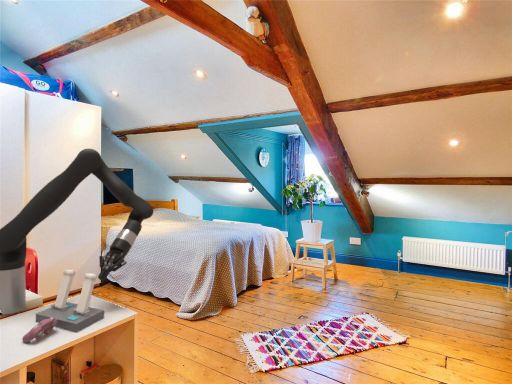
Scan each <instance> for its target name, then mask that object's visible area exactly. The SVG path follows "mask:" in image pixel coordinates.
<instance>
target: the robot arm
mask: <svg viewBox="0 0 512 384" xmlns="http://www.w3.org/2000/svg"><path fill="white" fill-rule="evenodd" d="M90 175H93V176H95V177H96V178H97V179H98V180H99V181H100V182H101V183H102V184H103V185H104V187H106V188H107V190H108V191H109V193H111V194H112V195H113V196H114V197H115V198H116V199H117V200H118V201H119V202H120V203H121V204H122V205H123V206H124V207H126V208H129V207H130V208H132V210H131V211H130V213H129V215H128V218H127V220H126V222H125V224H124V225H123V227H122V228H121V230H120V231H119V232H118V233H117V235H116V237H115V238H114V240H113V241H112V243H111V245H110V246H109V250H108V252H106V254H105V255H100V256H99V260H98V261H99V268H100V269H101V271H100V273H98V275H97V278H98V279H99V280H100V281H105V280H106V279H107V277H108V276H109V274H110V273H112V272H116V271H118V270H119V269H121V268H122V267H124V266H125V265H126V264H127V261H126V260H125V258H126V256H127V255H128V254H129V252H130V251H131V249H132V247H133V245H134V244H135V241H136V239H137V238H138V236H139V234H140V233H141V231H142V229H143V228H142V227H143V226H142V223H143V221H144V220H147V219H150V218H151V217H153V215H154V209H153V206H152V204H151V203H149V202H148V201H147V200H145V199H144V198H142V197H141V196H139V195H137V194H136V193H135V192H134V191H133V190H132V189H131V188H130V187H129V186H128V185H127V184H126V183H125V182H124V181H123V180H122V179H121V178H119V177H118V176H117V175H116V174H115V173H114V172H113V171H112V170H111V168H109V166H108V165H107V163H105V161H104V159H103V158H102V156H101V154H100V153H99V152H98V151H97V150H95V149H93V148H84V149H82V150H80V151H79V153H78V154H77V155H76V156H75V158H74V159H73V161H71V163H70V164H69V165H68V166H67V167H66V168H65V170H63V171H62V172H60V173H59V175H57V176H55V177H54V178H53V179H51V180H50V181H48V183H47V184H45V185H44V186H43V187H42V188H41V189H40V190H39V191H38V192H37V193H35V195H34V196H32V198H31V199H30V200H29V201H28V202H27V203H26V204H25V205H24V207H23V208H22V209H21V210H20V211H19V213H17V215H16V216H15V217H14V218H12V219H11V220H10V221H9V222H8V223H6V224H5V225H4V226H3V227H2V226H1V228H0V310H1V312H2V315H3V316H4V315H5V316H6V315H11V314H15V313H19V312H21V311H23V310H26V307H27V304H26V301H27V300H26V299H27V296H26V294H27V293H26V292H27V291H26V258H27V236H28V235H29V233H30V232H31V231H32V230H33V229H34V228H35V227H37V226H38V225H39V224H40V223H41V222H43V221H45V220H46V219H47V218H49V217H50V216H51V215H52V214H54V212H56V211H57V210H58V208H60V206H61V205H63V204H64V202H66V201H67V199H68V198H69V197H70V196H71V195H72V194H73V192H74V191H75V190H76V188H77V187H78V186H79V185H80V184H81V183H82V182H83V181H84V180H85V179H87V178H88V177H89V176H90Z"/></svg>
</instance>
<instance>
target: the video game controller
mask: <svg viewBox="0 0 512 384" xmlns="http://www.w3.org/2000/svg"><path fill="white" fill-rule="evenodd" d="M57 323H58V320H57V319H55V318H52V317H51V318H50V319H44V320H42V321H41V322H38V323H37V324H36V325H34V327H32V328H31V329H30V330H29V331H28V332H26V334H24V336H22V338H21V339H22V342H23V343H30V342H31V341H33V340H34V339H35V340H36V341H38V340H40V339H41V338H42V337H43V335H45V336H46V335H49V334H50V333H51V331H52V330H53V329H54V328H56V327H55V326H56V325H57Z"/></svg>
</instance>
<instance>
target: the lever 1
mask: <svg viewBox="0 0 512 384" xmlns="http://www.w3.org/2000/svg"><path fill="white" fill-rule="evenodd" d="M62 274H63V276H62V279H61V282H60V285H59V289H58V293H57V296H56V300H55V303H54V304H55V308H59V309H62V307H64V306H65V305H66V302H68V298H69V297H68V296H69V294H70V291H71V287H72V283H73V279H74V277H75V275H76V270H75V269H68V268H66V269H64V270H63V273H62Z"/></svg>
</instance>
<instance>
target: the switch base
mask: <svg viewBox="0 0 512 384" xmlns="http://www.w3.org/2000/svg"><path fill="white" fill-rule="evenodd" d="M77 306H78V303H75V302H69V301H67V302H66V305H65V306H64V307H62V309H59V308H55V303H52V304H51V307H48V308H45V309H43V310H40V311H39V312H37V313H35V322H36V323H39V322H41V321H42V320H44V319H50V318H51V317H52V318H55V319H57V320H58V323H57V325H56V326H55V327H54V328H58V329H62V330H65V331H66V330H67V331H70V332H73V333H78V332H80V331H81V330H84V329H85V328H88V327H90V326H91V325H93V324H96V323H97V322H99V321H101V320H103V319H104V318H105V310H104V309H100V308H96V307H91V306H88V310H87V311H86V312H84V314H80V313H76V309H77Z"/></svg>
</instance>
